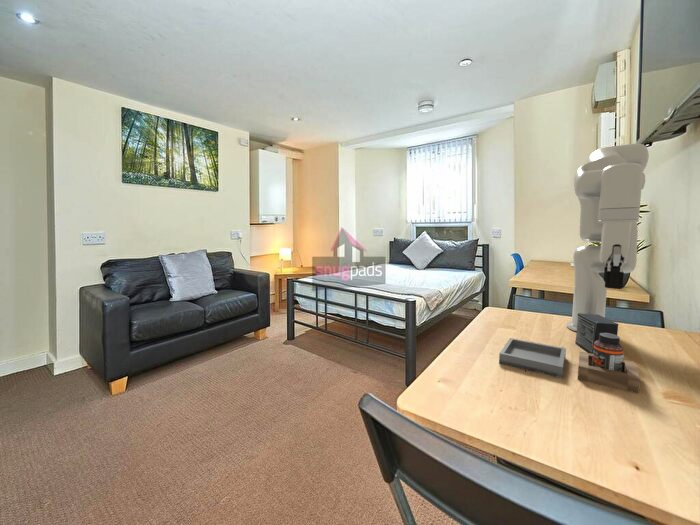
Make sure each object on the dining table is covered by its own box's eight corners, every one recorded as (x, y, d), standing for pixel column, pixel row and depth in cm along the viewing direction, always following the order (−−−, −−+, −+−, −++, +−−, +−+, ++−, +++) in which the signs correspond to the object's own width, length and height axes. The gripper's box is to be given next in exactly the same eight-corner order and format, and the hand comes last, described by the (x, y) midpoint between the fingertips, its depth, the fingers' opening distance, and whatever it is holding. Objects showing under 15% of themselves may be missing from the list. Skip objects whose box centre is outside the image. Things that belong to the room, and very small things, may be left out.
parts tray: (509, 346, 100) (510, 337, 100) (565, 358, 91) (565, 348, 91) (499, 363, 88) (499, 353, 88) (561, 378, 79) (562, 367, 79)
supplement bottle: (585, 372, 82) (588, 331, 81) (605, 370, 83) (609, 330, 81) (605, 383, 76) (609, 339, 75) (627, 381, 77) (631, 338, 76)
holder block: (578, 363, 88) (579, 351, 87) (633, 374, 81) (634, 361, 80) (577, 379, 79) (578, 366, 78) (638, 393, 72) (639, 379, 71)
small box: (617, 357, 91) (620, 323, 89) (592, 356, 92) (595, 322, 91) (596, 344, 101) (599, 313, 100) (574, 343, 102) (576, 312, 101)
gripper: (597, 217, 84) (593, 278, 86) (598, 216, 70) (593, 289, 72) (635, 216, 79) (629, 281, 81) (643, 215, 66) (636, 293, 68)
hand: (612, 285), depth 77 cm, fingers open, 9 cm apart
